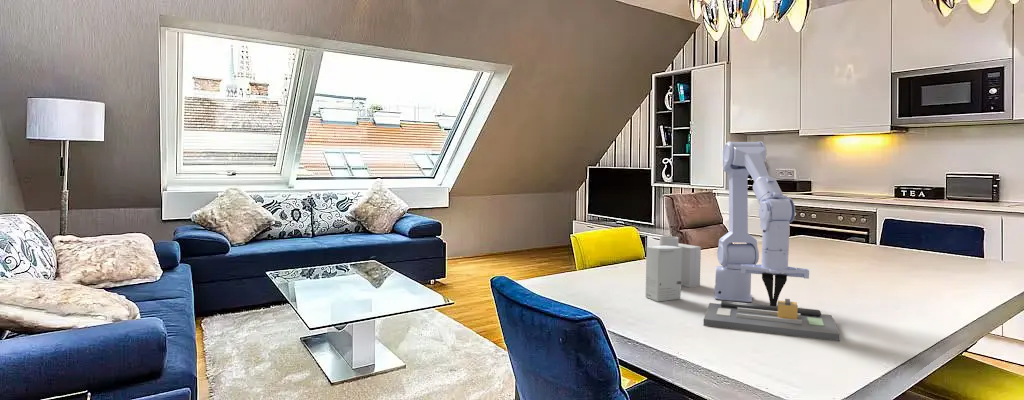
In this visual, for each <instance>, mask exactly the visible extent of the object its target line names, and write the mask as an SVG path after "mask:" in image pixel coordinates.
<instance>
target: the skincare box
mask: <svg viewBox="0 0 1024 400" xmlns="http://www.w3.org/2000/svg"><path fill="white" fill-rule="evenodd" d="M681 258H682V248H680V247H675V246H660V245H649V246H648V245H647V246H646V260H645V261H646V263H645V296H644V297H645V298H648V299H650V300H652V301H655V302H665V301H674V300H680V299H681V295H682V294H681V291H682V290H681V289H682V286H681Z"/></svg>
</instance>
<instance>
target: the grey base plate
mask: <svg viewBox="0 0 1024 400" xmlns="http://www.w3.org/2000/svg"><path fill="white" fill-rule="evenodd" d="M703 326H707V327H715V328H724V329H732V330H740V331H741V330H742V331H749V332H756V333H757V332H758V333H767V334H777V335H784V336H792V337H800V338H810V339H819V340H828V341H834V342H840V337H841V336H840V332H839V330H838V328H837V325H836V323H835V320H834V318H833V315H832V314H825V313H822V312H821V310H819V309H812V308H801V307H798V309H797V319H788V318H779V317H778V305H777V306H770V304H760V303H752V302H741V301H730V300H721V301H720V303H714V302H709V304H708V306H707V309H706V311H705V314H704V317H703Z"/></svg>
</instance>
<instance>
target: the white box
mask: <svg viewBox="0 0 1024 400" xmlns="http://www.w3.org/2000/svg"><path fill="white" fill-rule="evenodd" d="M659 246H675V247H680V248H682V258H681V287H682V286H683V287H687V288H693V287H695V288H696V287H698V286H699V287H700V285H701V260H702V258H701V257H702V256H701V253H702V252H701V251H702V247H701V246H700V245H699V246H697V245H691V244H685V243H679V237H678V236H674V235H673V236H671V235H665V236H664V235H662V236H659Z"/></svg>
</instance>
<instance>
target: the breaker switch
mask: <svg viewBox="0 0 1024 400" xmlns="http://www.w3.org/2000/svg"><path fill="white" fill-rule="evenodd" d="M777 306H778V317H779V318H788V319H797V309H798V308H799V307H798V302H797V301H791V299H790V298H784V300H779V299H778V300H777Z"/></svg>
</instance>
